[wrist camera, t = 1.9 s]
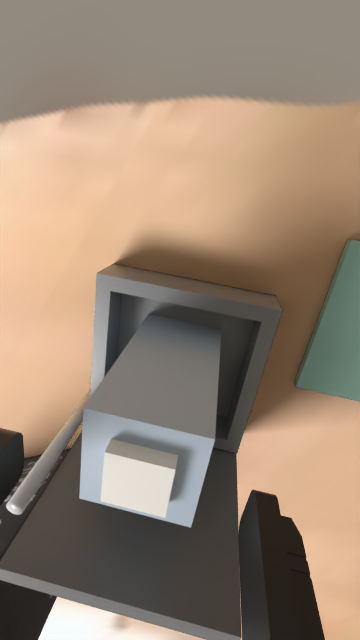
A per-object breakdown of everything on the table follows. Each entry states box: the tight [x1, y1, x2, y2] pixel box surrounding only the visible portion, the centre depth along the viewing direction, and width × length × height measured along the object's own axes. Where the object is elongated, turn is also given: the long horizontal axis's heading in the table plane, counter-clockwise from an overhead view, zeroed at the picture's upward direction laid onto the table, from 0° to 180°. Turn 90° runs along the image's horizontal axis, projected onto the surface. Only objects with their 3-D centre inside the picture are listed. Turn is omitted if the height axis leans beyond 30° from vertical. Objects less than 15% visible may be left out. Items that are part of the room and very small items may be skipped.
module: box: [79, 314, 221, 528], centre depth 15 cm, size 4×4×10 cm
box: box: [0, 450, 70, 640], centre depth 21 cm, size 8×6×11 cm
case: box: [0, 264, 282, 640], centre depth 15 cm, size 11×11×11 cm
